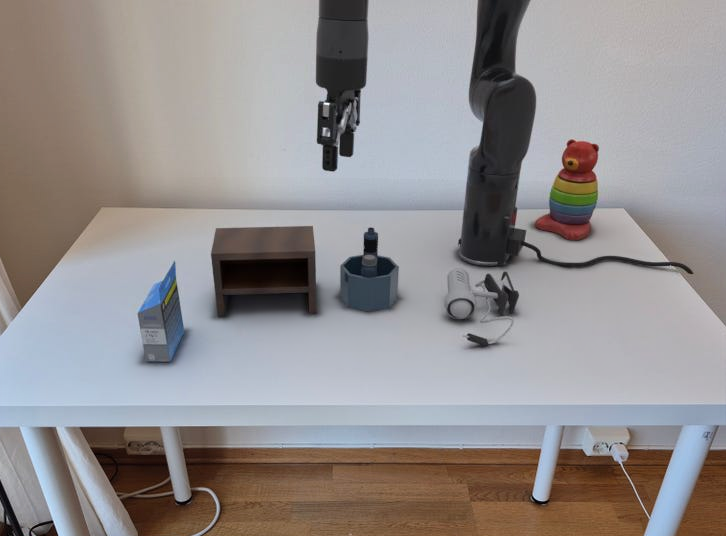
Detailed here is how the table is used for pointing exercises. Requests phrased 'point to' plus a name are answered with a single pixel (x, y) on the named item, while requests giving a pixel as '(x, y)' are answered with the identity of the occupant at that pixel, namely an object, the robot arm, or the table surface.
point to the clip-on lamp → (463, 298)
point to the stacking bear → (573, 193)
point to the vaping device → (370, 254)
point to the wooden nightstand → (263, 262)
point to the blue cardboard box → (161, 320)
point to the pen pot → (369, 284)
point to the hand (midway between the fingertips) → (338, 163)
